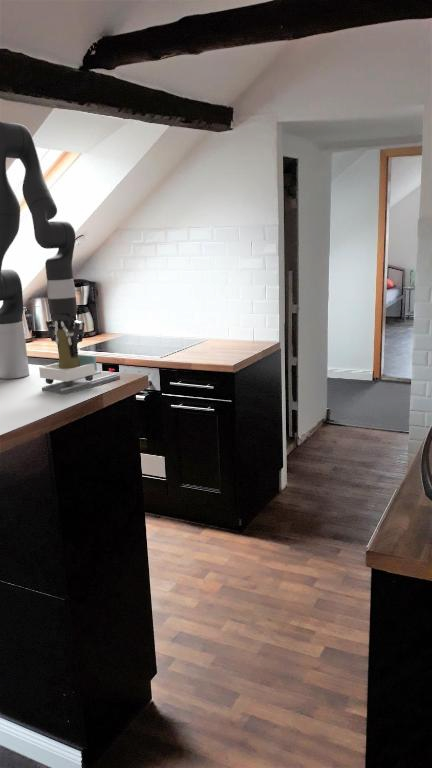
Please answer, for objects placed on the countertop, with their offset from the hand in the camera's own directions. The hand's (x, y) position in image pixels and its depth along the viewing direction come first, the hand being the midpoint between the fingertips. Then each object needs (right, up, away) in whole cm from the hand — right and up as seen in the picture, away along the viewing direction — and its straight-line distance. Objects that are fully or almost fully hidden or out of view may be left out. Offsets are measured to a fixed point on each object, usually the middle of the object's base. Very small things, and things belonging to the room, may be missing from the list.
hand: (68, 356), depth 170 cm
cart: (0, -7, +1) cm, 7 cm away
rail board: (+3, -8, +5) cm, 10 cm away
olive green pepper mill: (0, -3, +1) cm, 3 cm away
